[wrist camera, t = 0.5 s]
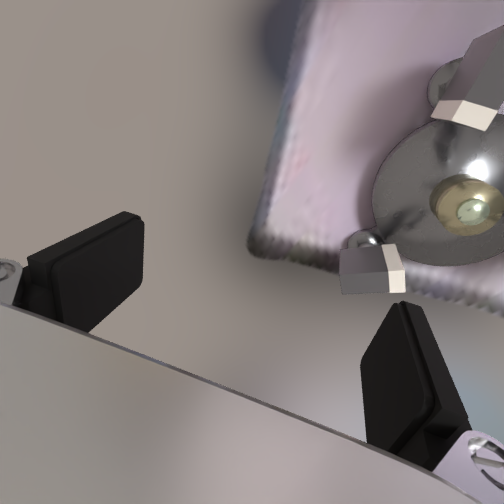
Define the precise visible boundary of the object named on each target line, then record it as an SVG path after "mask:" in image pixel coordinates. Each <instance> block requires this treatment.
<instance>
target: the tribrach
mask: <svg viewBox="0 0 504 504" xmlns="http://www.w3.org/2000/svg"><path fill="white" fill-rule="evenodd" d="M462 59H463V58H459V59H456V60H453V61H450V62H448V63H446V64H445V65H443V66H442V67H441V68H439V69H438V70H437V71H436V72H435V74H434V75H433V76H432V78H431V80H430V82H429V85H428V89H427V97H428V101H429V103H430V104H431V106H432V107H433V108H434V109H435V108H436V106H437V104H438V102H439V101H440V100H441V98H442V96H443V94H444V93H445V88H446V84H447V82H448V81H449V79H450V78H451V77H453V76H454V74H455V72H456V70H457V69H458V67H459V65H460V63H461V61H462ZM372 209H373V214H374V218H375V221H376V224H377V225H376V226H375V227H373V228H371V229H364V230H360V231H357V232H355V233H354V234H353V235H352V236H351V237H350V239H349V241H348V249H351V248H358V247H359V246H360V245H361V244H362V243H366V242H368V243H371V244H373V245H374V246H381V245H386V244H395V245H396V248H397V251H398V253H400V254H402V255H403V256H405V257H407V258H409V259H411V260H414V261H417V262H420V263H423V264H428V265H434V266H459V265H466V264H471V263H476V262H479V261H482V260H485V259H488V258H491V257H493V256H495V255H498V254H500V253H501V252H503V251H504V115H502V114H496V115H495V117H494V119H493V120H492V122H491V123H490V125H489V126H488V128H487V129H486V131H482V130H477V129H472V128H467V127H462V126H457V125H454V124H451V123H448V122H444V121H441V120H438V119H435V121H432V122H430V123H428V124H426V125H424V126H422V127H420V128H418V129H417V130H415V131H414V132H412V133H411V134H409V135H408V136H407V137H406V138H404V139H403V140H402V141H401V142H400V143H399V144H398V145H397V146H396V147H395V148H394V149H393V150H392V151H391V152H390V154H389V155H388V156H387V158H386V159H385V160H384V162H383V164H382V165H381V167H380V169H379V171H378V173H377V176H376V178H375V182H374V185H373V191H372Z"/></svg>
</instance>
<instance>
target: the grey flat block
mask: <svg viewBox="0 0 504 504" xmlns="http://www.w3.org/2000/svg"><path fill="white" fill-rule="evenodd" d="M503 101H504V25H503V26H501V27H499V28H497V29H495V30H492V31H490V32H488V33H486V34H484V35H482V36H480V37H478V38H476V39H474V40H473V41H472V43H471V45H470V47H469V48H468V50H467V52H466V54H465V56H464V58H463V59H462V61H461V63H460V65H459V67H458V69H457V70H456V72H455V74H454V76H453V77H451V78H450V79H449V81H448V82H447V84H446V88H445V93H444V94H443V96H442V98H441V100H440V101H439V102H438V104H437V106H436V108H435V109H434V111H433V113H432V115H431V117H432V118H435V119H438V120H441V121H444V122H448V123H451V124H454V125H457V126H462V127H467V128H472V129H477V130H482V131H486V129H487V128H488V126H489V125H490V123H491V122H492V120H493V119H494V117H495V115H496V114H497V112H498V111H497V110H498V109H499V107H500V106H501V104H502V103H503Z"/></svg>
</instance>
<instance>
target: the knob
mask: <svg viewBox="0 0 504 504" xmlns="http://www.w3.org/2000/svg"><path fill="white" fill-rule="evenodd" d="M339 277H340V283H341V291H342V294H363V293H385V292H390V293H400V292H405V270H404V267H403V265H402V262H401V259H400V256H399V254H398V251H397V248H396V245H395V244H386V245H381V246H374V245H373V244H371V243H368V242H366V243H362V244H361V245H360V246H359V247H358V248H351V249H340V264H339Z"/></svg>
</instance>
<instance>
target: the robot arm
mask: <svg viewBox="0 0 504 504" xmlns="http://www.w3.org/2000/svg"><path fill="white" fill-rule="evenodd" d="M143 252H144V222H143V221H142V220H141V217H140V216H138V215H135V214H132V213H129V212H126V211H123V212H121V213H119V214H117V215H115V216H112V217H110V218H108V219H106V220H104V221H102V222H100V223H98V224H96V225H93V226H91V227H89V228H87V229H85V230H83V231H81V232H79V233H77V234H75V235H72V236H70V237H68V238H66V239H64V240H62V241H60V242H58V243H56V244H54V245H52V246H49V247H47V248H45V249H43V250H41V251H39V252H37V253H35V254H33V255H30V256H28V257H27V261H28V266H26V267H24V268H22V266H21V265H20V263H18V262H16V261H14V260H9V259H0V504H504V445H503V444H501V443H500V442H499V441H497V440H496V439H494V438H492V437H490V436H489V435H487V434H485V433H482V432H478V431H472V428H471V426H470V424H469V421H468V415H467V413H466V411H465V408H464V406H463V403H462V402H461V399H460V397H459V394H458V392H457V389H456V387H455V385H454V382H453V380H452V377H451V375H450V373H449V371H448V368H447V366H446V363H445V361H444V359H443V356H442V354H441V352H440V350H439V347H438V344H437V342H436V340H435V338H434V335H433V333H432V330H431V328H430V326H429V323H428V321H427V318H426V316H425V314H424V311H423V309H422V308H421V307H420V306H418V305H415V304H412V303H408V302H405V301H401V302H400V303H399V304H398V303H394V304H393V305H392V307H391V308H390V310H389V312H388V314H387V315H386V317H385V319H384V320H383V322H382V324H381V326H380V327H379V329H378V331H377V333H376V335H375V336H374V338H373V339H372V341H371V343H370V345H369V346H368V348H367V350H366V352H365V353H364V355H363V357H362V360H361V364H360V370H361V381H362V393H363V403H364V415H365V427H366V439H367V443H365V442H363V441H361V440H358V439H356V438H353V437H351V436H348V435H346V434H344V433H341V432H339V431H336V430H334V429H332V428H329V427H327V426H324V425H322V424H319V423H316V422H314V421H312V420H308V419H306V418H304V417H301V416H299V415H296V414H294V413H291V412H289V411H286V410H284V409H281V408H279V407H276V406H274V405H271V404H269V403H266V402H263V401H261V400H259V399H256V398H254V397H251V396H248V395H246V394H243V393H241V392H238V391H236V390H233V389H231V388H228V387H226V386H223V385H221V384H218V383H215V382H213V381H210V380H207V379H205V378H203V377H200V376H198V375H195V374H192V373H190V372H187V371H185V370H182V369H179V368H177V367H174V366H172V365H169V364H167V363H164V362H162V361H159V360H156V359H154V358H151V357H149V356H146V355H144V354H141V353H138V352H136V351H133V350H130V349H128V348H125V347H123V346H120V345H117V344H115V343H112V342H110V341H107V340H104V339H102V338H99V337H96V336H94V335H91V334H89V332H90V331H91V330H92V329H93V328H94V327H95V326H96V325H97V324H99V323H100V322H101V321H102V320H103V319H104V318H105V317H106V316H108V315H109V314H110V313H111V312H112V311H113V310H114V309H115V308H116V307H118V305H120V304H121V303H122V302H123V301H124V300H125V299H126V298H128V297H129V296H130V295H131V294H132V293H133V292H134V291H135V290H137V289H138V288H139V287H140V285H141V283H142V279H143Z"/></svg>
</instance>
